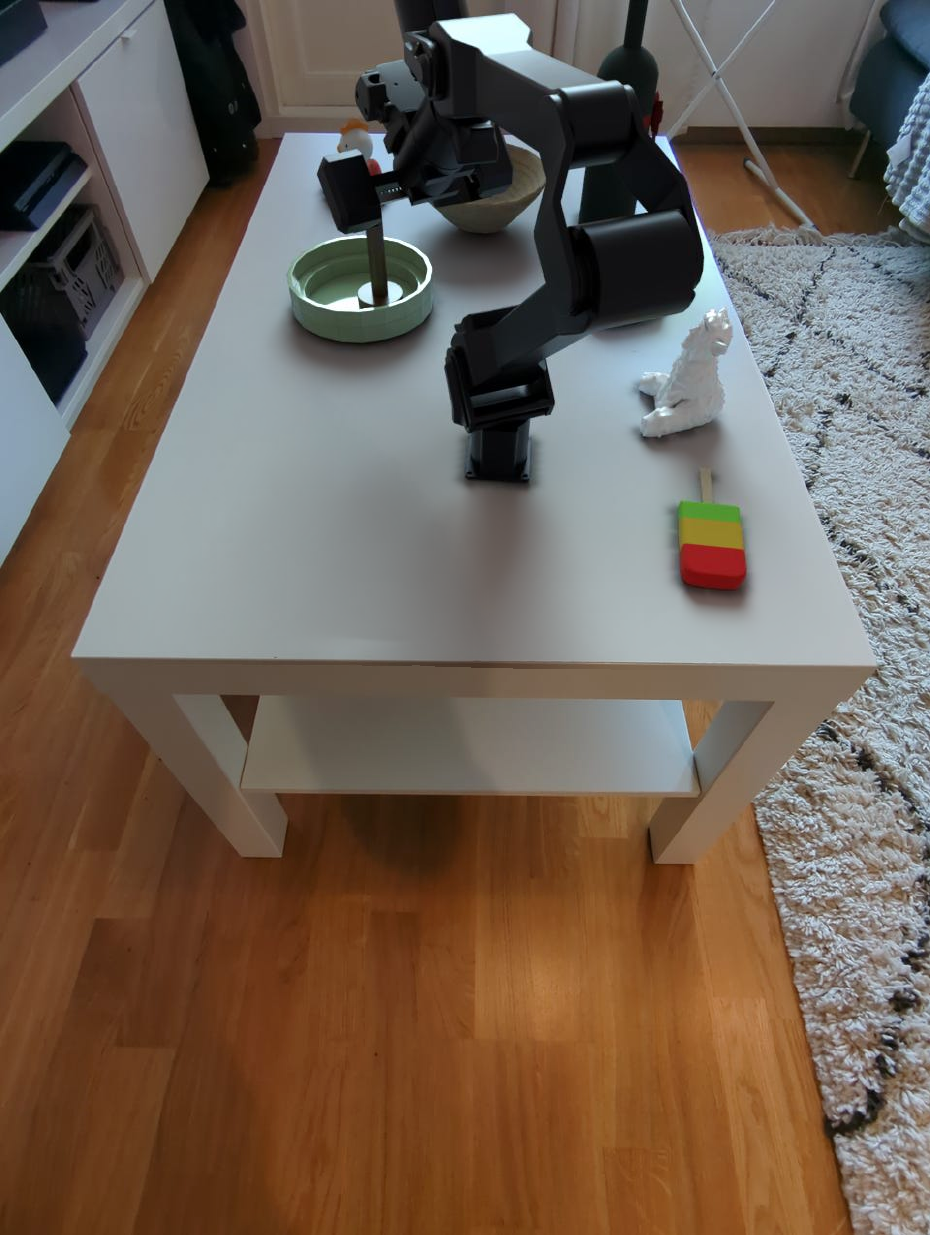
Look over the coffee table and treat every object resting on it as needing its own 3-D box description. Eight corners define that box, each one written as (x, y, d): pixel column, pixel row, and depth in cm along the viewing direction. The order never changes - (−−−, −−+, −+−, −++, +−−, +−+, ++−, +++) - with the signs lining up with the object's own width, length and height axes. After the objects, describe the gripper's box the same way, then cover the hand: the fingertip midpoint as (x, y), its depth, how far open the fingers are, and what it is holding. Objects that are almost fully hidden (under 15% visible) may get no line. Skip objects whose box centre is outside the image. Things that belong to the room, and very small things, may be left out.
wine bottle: (654, 235, 103) (712, -49, 79) (581, 236, 103) (617, -48, 79) (644, 208, 108) (696, -68, 84) (574, 209, 108) (606, -67, 84)
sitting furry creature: (636, 383, 84) (659, 280, 74) (715, 389, 83) (748, 286, 73) (639, 438, 78) (664, 335, 68) (723, 445, 77) (760, 342, 68)
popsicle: (679, 586, 66) (684, 573, 65) (674, 471, 75) (679, 457, 74) (743, 593, 66) (749, 580, 64) (730, 477, 75) (736, 463, 73)
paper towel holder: (366, 318, 90) (352, 196, 79) (352, 294, 93) (337, 174, 82) (410, 308, 91) (402, 187, 80) (395, 285, 95) (386, 166, 83)
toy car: (317, 185, 112) (306, 109, 104) (373, 175, 114) (366, 100, 106) (335, 212, 107) (324, 135, 99) (392, 201, 109) (387, 125, 101)
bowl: (566, 246, 102) (573, 184, 95) (440, 272, 98) (438, 209, 91) (512, 188, 112) (515, 128, 105) (395, 209, 108) (391, 149, 101)
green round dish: (425, 350, 87) (423, 314, 84) (280, 343, 88) (272, 308, 84) (439, 272, 98) (438, 238, 94) (309, 267, 98) (303, 233, 95)
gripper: (505, 16, 65) (446, 115, 80) (307, 53, 60) (282, 152, 75) (546, 149, 68) (482, 221, 82) (359, 196, 62) (325, 265, 77)
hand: (396, 213), depth 79 cm, fingers open, 9 cm apart
